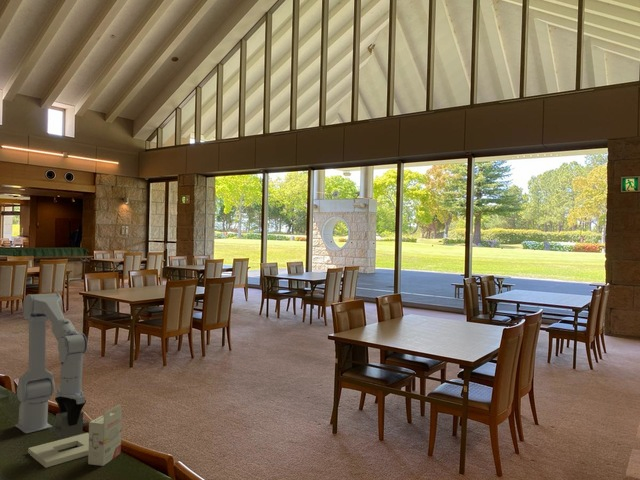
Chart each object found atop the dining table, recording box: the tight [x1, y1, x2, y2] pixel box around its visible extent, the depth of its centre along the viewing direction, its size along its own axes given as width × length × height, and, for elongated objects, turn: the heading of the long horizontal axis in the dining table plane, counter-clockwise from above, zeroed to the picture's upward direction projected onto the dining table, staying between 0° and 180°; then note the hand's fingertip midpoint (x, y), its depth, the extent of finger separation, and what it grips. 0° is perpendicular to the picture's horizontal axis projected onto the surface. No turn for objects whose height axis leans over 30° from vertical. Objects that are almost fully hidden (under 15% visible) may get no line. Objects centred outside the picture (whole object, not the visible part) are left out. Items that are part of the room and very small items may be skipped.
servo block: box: [48, 410, 90, 439], centre depth 145 cm, size 4×10×7 cm, turn 139°
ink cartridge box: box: [87, 403, 123, 467], centre depth 141 cm, size 9×5×15 cm, turn 168°
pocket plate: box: [27, 432, 89, 469], centre depth 145 cm, size 13×17×2 cm
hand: (69, 422), depth 145 cm, fingers closed on servo block, 4 cm apart
